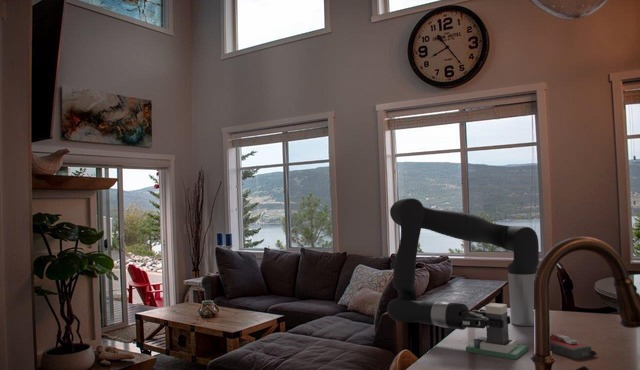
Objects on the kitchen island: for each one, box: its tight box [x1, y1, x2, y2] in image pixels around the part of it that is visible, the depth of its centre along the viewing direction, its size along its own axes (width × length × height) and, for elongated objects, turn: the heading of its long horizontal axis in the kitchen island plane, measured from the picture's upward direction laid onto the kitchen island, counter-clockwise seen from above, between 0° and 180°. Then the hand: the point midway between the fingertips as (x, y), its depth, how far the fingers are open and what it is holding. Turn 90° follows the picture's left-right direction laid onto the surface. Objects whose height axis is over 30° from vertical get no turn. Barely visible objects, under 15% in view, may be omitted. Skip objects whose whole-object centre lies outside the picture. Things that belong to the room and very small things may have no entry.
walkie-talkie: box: [549, 333, 597, 360], centre depth 140 cm, size 9×4×20 cm
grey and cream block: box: [484, 302, 510, 345], centre depth 139 cm, size 4×4×11 cm
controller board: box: [465, 336, 529, 360], centre depth 140 cm, size 10×14×4 cm
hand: (506, 322), depth 138 cm, fingers closed on grey and cream block, 4 cm apart
